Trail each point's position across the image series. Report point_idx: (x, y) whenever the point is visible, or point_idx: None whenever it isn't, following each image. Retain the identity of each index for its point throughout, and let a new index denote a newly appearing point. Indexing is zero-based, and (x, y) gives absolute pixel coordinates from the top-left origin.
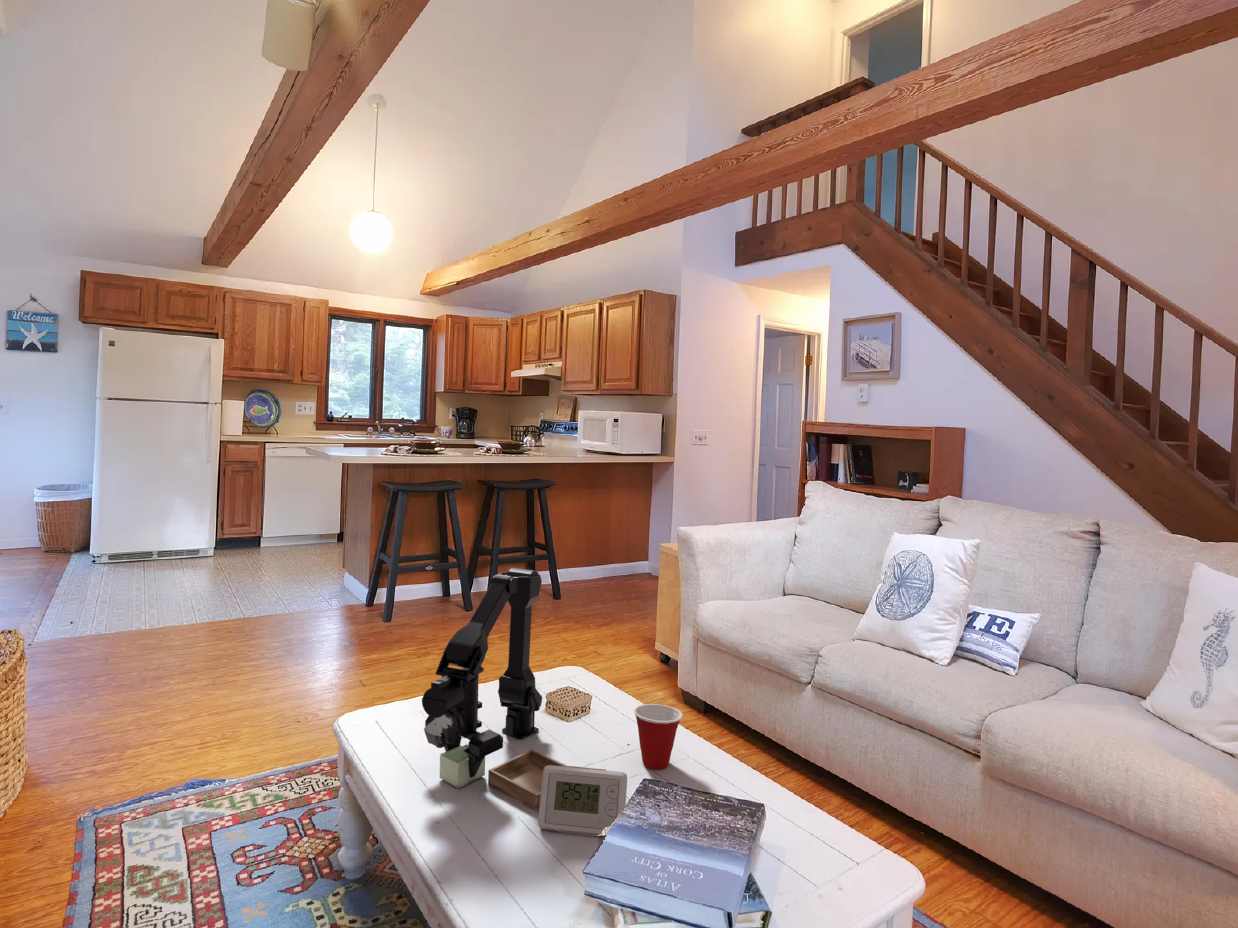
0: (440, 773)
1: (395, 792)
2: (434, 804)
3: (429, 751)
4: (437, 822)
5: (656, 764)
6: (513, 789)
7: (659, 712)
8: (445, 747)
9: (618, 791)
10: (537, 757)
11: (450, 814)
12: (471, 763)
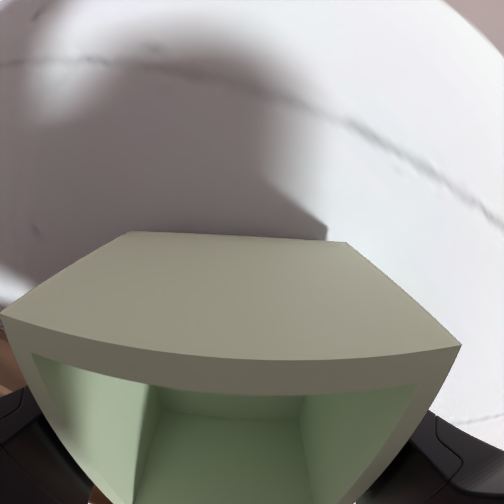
0: (348, 251)
1: (407, 6)
2: (130, 35)
3: (497, 356)
4: (40, 10)
5: None
6: None
7: None
8: (453, 444)
9: None
10: (102, 496)
11: (24, 69)
12: (15, 395)
